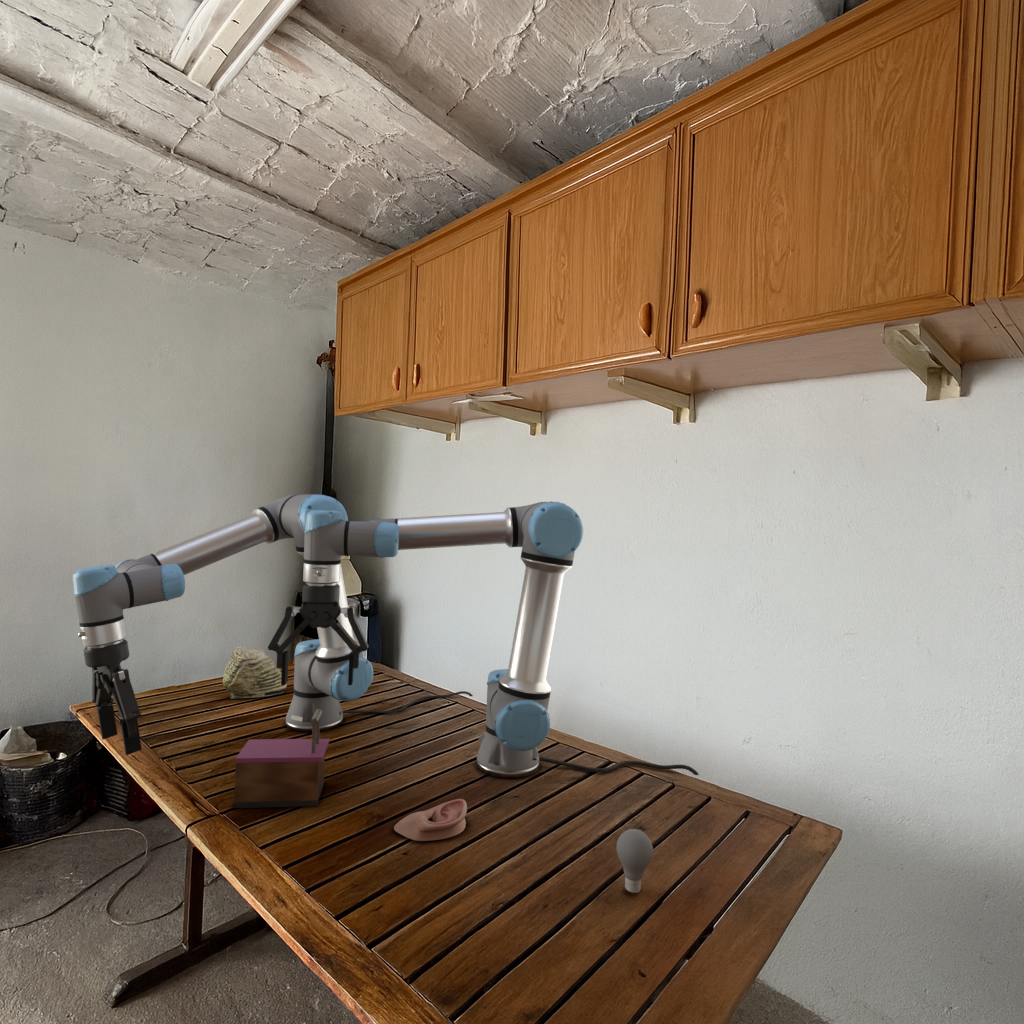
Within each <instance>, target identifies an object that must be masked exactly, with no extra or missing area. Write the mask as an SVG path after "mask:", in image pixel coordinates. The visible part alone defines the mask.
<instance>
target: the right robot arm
mask: <svg viewBox="0 0 1024 1024" xmlns="http://www.w3.org/2000/svg"><path fill="white" fill-rule="evenodd" d="M304 533H305V539H304V557H303V569H302V570H303V573H302V582H304V584H303V585H302V595H301V597H302V599H301V606H296V605H293V604H289V605H288V606H287V607H286V608H285V612H284V617H283V619H282V621H281V622H280V624H279V627H278V628H277V630H276V631H275V633H274V635H273V637H272V639H271V641H270V642H269V644H268V646H267V649H268V650H269V651H273V652H275V653H276V668H278V669H281V673H282V674H281V685H285V684H286V685H287V683H288V681H289V679H288V678H289V677H288V676H289V655H290V654H289V652H290V651H289V650H286V649H287V648H288V647H289V646H290V645H291V644H292V642H293V641H295V639H296V638H297V637H298V636H299V635H300V634H301V633H302V632H303V630H305V629H306V627H307V626H308V627H310V628H311V629H317V628H318V627H321V628H327V627H330V626H331V627H332V628H333V630H335V631H336V632H337V634H338V635H339V636H340V637H341V638H342V640H343V641H344V642H345V643H346V644H347V646H348V647H349V648H350V649H351V652H350V654H349V676H348V685H352V683H353V672H354V668H358V666H359V654H360V652H362V653H363V652H366V651H367V650H368V649H369V643H368V641H367V639H366V636H365V635H364V633H363V630H362V628H361V626H360V623H359V621H358V620H357V617H356V612H355V607H354V605H350V606H349V605H348V607H345V608H341V607H340V605H339V595H340V586H339V585H338V584H337V583H338V582H339V581H340V571H341V567H342V557H365V558H378V559H383V558H395V557H397V556H398V553H399V551H405V550H406V551H407V550H422V549H423V550H424V549H438V548H441V549H442V548H454V547H455V548H456V547H457V548H458V547H472V546H488V545H489V546H490V545H506V546H507V547H508V548H521V553H520V560H521V561H522V563H523V565H524V566H525V569H524V576H523V582H522V587H521V594H520V599H519V603H518V610H517V615H516V622H515V627H514V634H513V639H512V645H511V650H510V652H511V653H510V657H509V663H508V668H501V669H495V670H491V671H490V672H489V673H488V675H487V682H486V685H487V689H486V691H487V692H486V711H485V712H486V713H485V731H484V733H482V734H481V735H480V736H478V738H477V743H480V742H481V743H480V746H479V747H478V748H479V749H478V752H477V754H476V767H477V768H478V769H479V771H481V772H482V773H485V774H487V775H490V776H493V777H498V778H503V779H504V778H505V779H517V778H526V777H528V776H531V775H534V774H535V773H536V772H537V771H539V769H540V762H545V763H549V764H553V765H558V766H561V767H566V768H571V769H576V770H580V771H585V772H591V773H608V772H612V771H615V770H616V769H618V768H620V767H623V766H632V765H633V766H641V767H646V768H651V769H658V770H678V769H679V770H687V771H689V772H690V773H692V775H694V776H699V775H700V774H699V773H698V770H697V769H696V770H697V771H696V770H695V769H694V768H693V767H692V766H689V765H687V764H666V765H664V764H657V763H652V762H651V763H650V762H645V761H640V760H622V761H619V762H617V763H615V764H613V765H611V766H608V767H590V766H585V765H581V764H576V763H572V762H567V761H562V760H559V759H554V758H549V757H544V756H540V755H539V750H538V748H537V747H539V746H540V745H541V744H543V743H544V741H545V740H546V739H547V737H548V735H549V734H550V733H549V732H550V728H551V718H550V713H549V711H548V709H549V704H550V698H551V691H552V687H551V685H550V684H549V683H548V680H547V675H548V668H549V663H550V658H551V651H552V645H553V640H554V634H555V629H556V622H557V618H558V612H559V611H558V610H559V606H560V605H559V604H560V599H561V595H562V594H561V593H562V589H563V583H564V582H563V581H564V576H565V574H566V572H568V571H569V570H570V569H572V568H573V564H574V560H575V559H574V558H575V553H576V551H577V550H578V548H579V547H580V546H581V543H582V541H583V537H584V526H583V521H582V519H581V517H580V515H579V514H578V513H577V511H575V509H574V508H572V507H571V506H569V505H567V504H566V503H563V502H560V501H539V502H535V503H532V504H531V503H530V504H527V505H522V506H521V505H520V506H514V507H513V506H512V507H506V509H505V510H504V511H501V512H500V511H499V512H482V513H481V512H480V513H465V514H464V513H463V514H462V513H461V514H447V515H446V514H445V515H432V516H431V515H430V516H415V517H414V516H413V517H412V516H411V517H398V518H371V519H368V520H367V521H364V520H363V521H355V520H354V521H353V520H352V521H351V520H348V521H347V520H343V515H342V513H341V512H340V511H323V510H313V511H310V512H308V513H307V515H306V526H305V531H304ZM298 613H299V614H300V616H301V618H303V621H301V622H300V624H299V625H298V626H297V627H296V628H295V629H294V631H292V632H291V634H290V635H289V636H288V637H287V638H286V639H285V640H284V641H283V642H282V643H281V644H279V642H280V640H281V638H282V637H283V635H284V633H285V631H286V629H287V628H288V625H289V624H290V623H291V620H292V619H293V617H295V616H297V614H298ZM341 613H343V614H344V616H345V617H346V618H348V620H349V623H350V625H351V627H352V631H353V635H355V637H356V638H355V639H356V640H358V642H359V644H360V645H359V646H358V645H357V643H356V642H355V641H354V640H353V639H352V637H351V636H350V635H349V634H348V633H347V631H346V630H345V629H344V628H343V626H342V625H341V623H340V622H339V621H338V620H337V617H338V616H339V615H340V614H341Z"/></svg>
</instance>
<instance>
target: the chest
mask: <svg viewBox="0 0 1024 1024" xmlns="http://www.w3.org/2000/svg"><path fill="white" fill-rule="evenodd" d="M325 759H326V754H325V755H324V758H323V761H322V762H264V763H236V762H235V764H234V765H235V767H234V768H235V769H234V793H233V809H257V808H258V809H259V808H260V809H261V808H294V807H295V808H298V807H300V808H301V807H317V806H318V803H319V800H320V797H321V794H322V791H323V789H324V784H325V765H326V764H325V763H326V762H325V761H326V760H325Z"/></svg>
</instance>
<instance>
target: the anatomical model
mask: <svg viewBox="0 0 1024 1024" xmlns="http://www.w3.org/2000/svg"><path fill="white" fill-rule="evenodd" d="M467 804H468V803H467V801H466V800H465V799H463V798H457V799H452V800H449V801H446V802H443V803H440V804H438V805H435V806H434V807H431V808H429V809H426V810H421V811H416V812H413V813H412V812H411V813H409V814H408V815H406V816H405V817H403V818H402V819H400V820H399V821H398V822H397V823H395V825H394V826H393V830H394V831H395V832H396V833H397V834H399V835H401V836H403V837H405V838H407V839H410V840H412V841H416V842H428V841H439V840H445V839H449V838H453V837H455V836H457V835H460V834H461V833H462V832H464V831H465V829H466V826H467V825H466V824H467V822H466V818H465V817H466V816H467V812H468V805H467Z"/></svg>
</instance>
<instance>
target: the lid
mask: <svg viewBox="0 0 1024 1024" xmlns="http://www.w3.org/2000/svg"><path fill="white" fill-rule="evenodd" d="M321 714H322V710H321V709H317V710H316V711H315V713H314V715H313V717H312V720H311V724H312V732H311V738H264V739H263V738H261V739H260V738H259V739H257V738H255V739H250V738H249V739H248V740H247V742H246V743H245V744H244V746H243V747H242V749H241V750H240V751H239V753H238V754H237V755H236V757H235V764H236V763H264V762H322V761H323V758H324V755H325V756H326V753H327V750H328V747H329V744H330V738H320V732H321V731H320V716H321Z"/></svg>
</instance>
